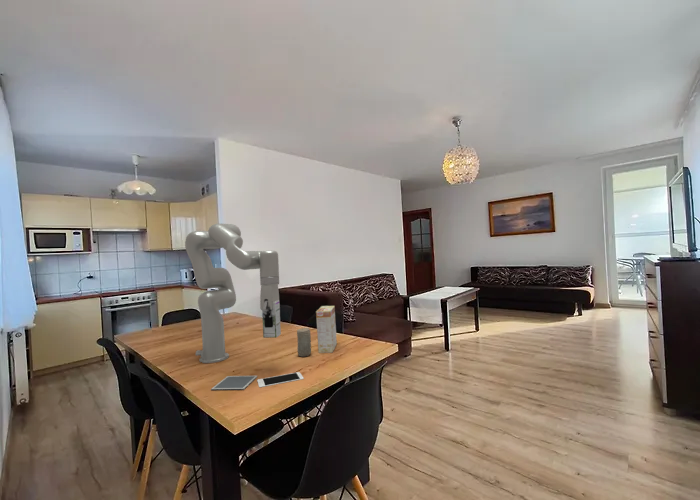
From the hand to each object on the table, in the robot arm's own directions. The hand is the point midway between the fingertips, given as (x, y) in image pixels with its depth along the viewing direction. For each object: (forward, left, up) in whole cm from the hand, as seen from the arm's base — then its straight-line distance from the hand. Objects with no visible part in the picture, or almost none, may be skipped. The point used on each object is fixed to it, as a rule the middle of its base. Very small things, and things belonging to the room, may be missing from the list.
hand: (271, 324), depth 133 cm
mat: (-10, -14, -18) cm, 25 cm away
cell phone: (+6, -11, -19) cm, 23 cm away
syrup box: (0, 0, -5) cm, 5 cm away
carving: (+8, +18, -18) cm, 27 cm away
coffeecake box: (+17, +28, -18) cm, 38 cm away
